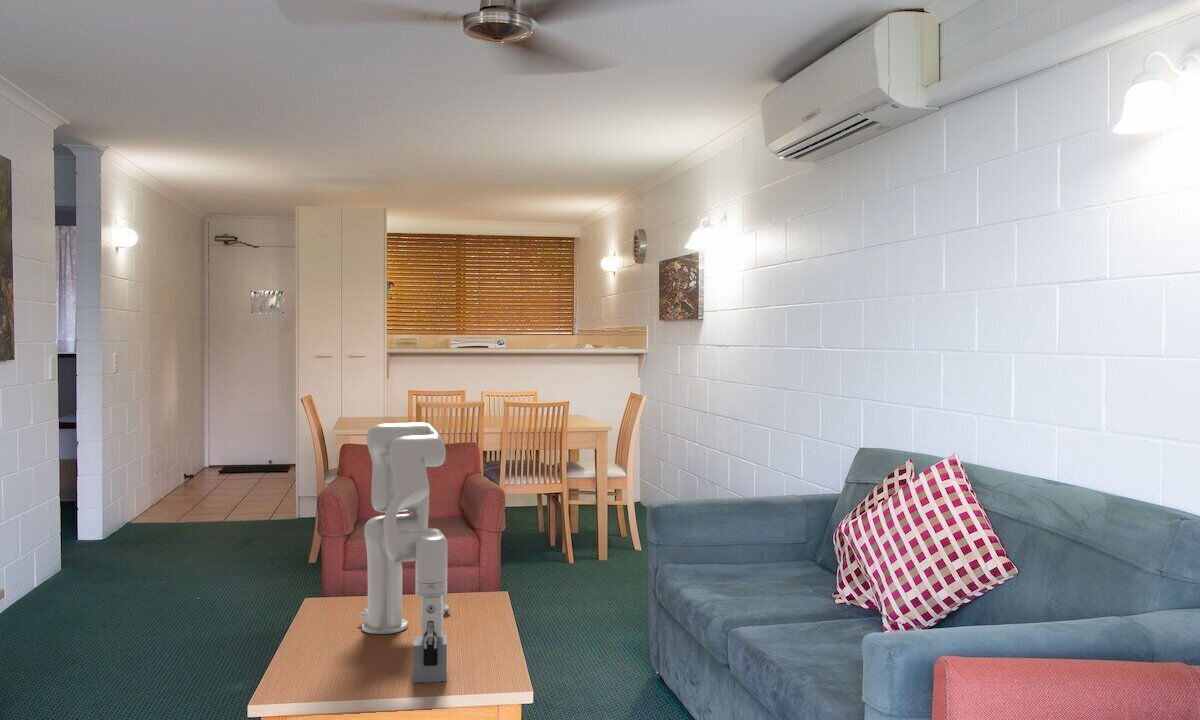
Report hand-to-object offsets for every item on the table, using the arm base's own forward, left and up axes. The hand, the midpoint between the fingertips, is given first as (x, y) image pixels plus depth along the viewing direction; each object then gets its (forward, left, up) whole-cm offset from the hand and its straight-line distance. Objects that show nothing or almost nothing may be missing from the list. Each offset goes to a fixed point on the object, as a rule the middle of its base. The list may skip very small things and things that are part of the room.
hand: (431, 658), depth 221 cm
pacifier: (-34, +42, -5) cm, 54 cm away
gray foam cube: (0, 0, -4) cm, 4 cm away
